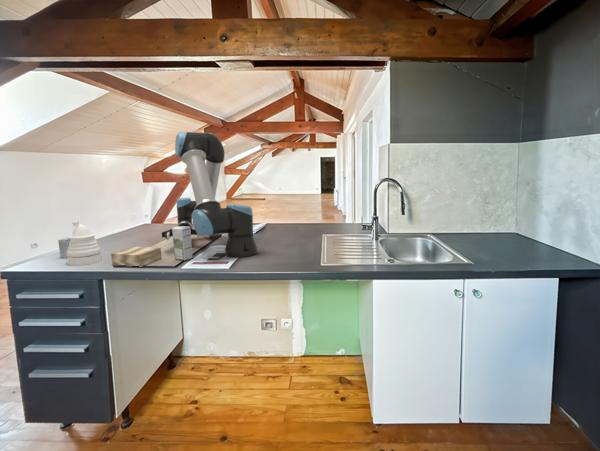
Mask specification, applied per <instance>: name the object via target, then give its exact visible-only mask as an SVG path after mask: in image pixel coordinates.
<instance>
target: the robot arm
mask: <svg viewBox="0 0 600 451" xmlns="http://www.w3.org/2000/svg"><path fill="white" fill-rule="evenodd" d="M174 151H175V156H176V157H177V158H181V161H182V163H184V164H185V165H186V168H187V173H188V177H189V181H190V184H191V188H192V191H193V192H192V193H193V196H194V199H195V200H192V199H191V198H190V197H179V198H177V199H176V213H177V227H178V226H186V227H190V230H191V236H192V235H194V236H196V237H197V239H200V236H201V237H202V236H203V237H204V236H205V237H206V236H207V237H208V236H209V237H210V236H215V235H223V234H227V241H226V244H225V249H224V254H225V256H227V257H232V258H244V257H250V256H255V255H256V254H258V246H257V243H256V241H255V237H254V220H253V219H254V218H253V217H254V215H253V209H252V207H251V206H249V205H244V204H235V203H233V204H232V203H229V204H226V206H225V207H222V206H221V203H220V202H219V201H217V200H216V195H217V189H218V188H217V187H218V182H219V177H220V173H221V167H222V166H221V165H222V163H223V162H224V161H225V153H226V152H225V148H224V145H223V143H222V141H221V139H220V138H219V137H218V136H217V135H215V134H213V133H211V132H194V131H193V132H191V131H189V132H188V131H180V132H178V133H177V134H176V137H175V142H174ZM205 161H206V162H205ZM193 228H194V229H193ZM171 237H173V231H172V228H170V229H168V230H165V231H161V238H165V240H166V241H170V239H171Z"/></svg>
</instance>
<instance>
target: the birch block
mask: <svg viewBox="0 0 600 451" xmlns="http://www.w3.org/2000/svg"><path fill="white" fill-rule="evenodd" d="M110 256H111V265H112V266H117V265H132V266H139V268H141V267H144V266H143V265H145V264H147V265H149V264H152V263H154V262H156V260H157V261H159V260H161V259H162V248H161V247H153V246H149V247H148V246H132V247H127V248H126V249H122V250H119V251H115V252H113V253H111V254H110ZM151 262H152V263H151ZM148 263H149V264H148ZM132 266H131V267H132ZM145 266H146V265H145Z"/></svg>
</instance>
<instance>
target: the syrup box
mask: <svg viewBox="0 0 600 451" xmlns="http://www.w3.org/2000/svg"><path fill="white" fill-rule="evenodd" d="M171 229H172V231H173V236H172V241H173V252H174V254H173V255H174V256H173V257H174V260H177V261H186V260H189V259H192V258H193V249H192V247H193V246H192V235H191V230H190V227H186V226H178V225H177V226H174V227H172V228H171Z"/></svg>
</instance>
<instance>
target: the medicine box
mask: <svg viewBox="0 0 600 451" xmlns="http://www.w3.org/2000/svg"><path fill="white" fill-rule="evenodd" d="M70 240H71V239H69V238H68V237H66V238H62V239H58V241H57V242H58V249H59V256H60V257H59V258H61V259H67V250H68V247H69V243H70Z"/></svg>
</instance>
